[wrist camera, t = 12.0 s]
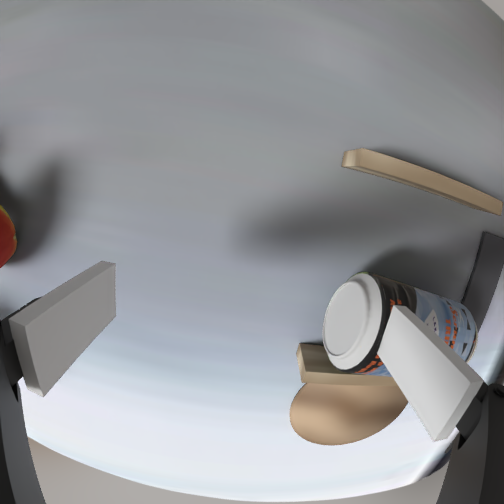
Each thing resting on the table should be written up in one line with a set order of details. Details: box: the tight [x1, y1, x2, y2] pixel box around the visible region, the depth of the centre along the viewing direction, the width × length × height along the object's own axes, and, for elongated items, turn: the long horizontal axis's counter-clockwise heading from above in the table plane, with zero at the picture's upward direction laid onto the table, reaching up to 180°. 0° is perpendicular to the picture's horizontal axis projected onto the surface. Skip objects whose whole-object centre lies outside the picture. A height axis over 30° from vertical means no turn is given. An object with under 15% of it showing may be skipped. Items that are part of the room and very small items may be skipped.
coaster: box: [290, 383, 408, 445], centre depth 23 cm, size 12×12×1 cm
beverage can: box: [323, 272, 478, 377], centre depth 17 cm, size 6×7×12 cm
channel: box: [296, 148, 503, 386], centre depth 18 cm, size 15×12×4 cm
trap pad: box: [461, 231, 504, 332], centre depth 20 cm, size 10×4×1 cm, turn 170°
